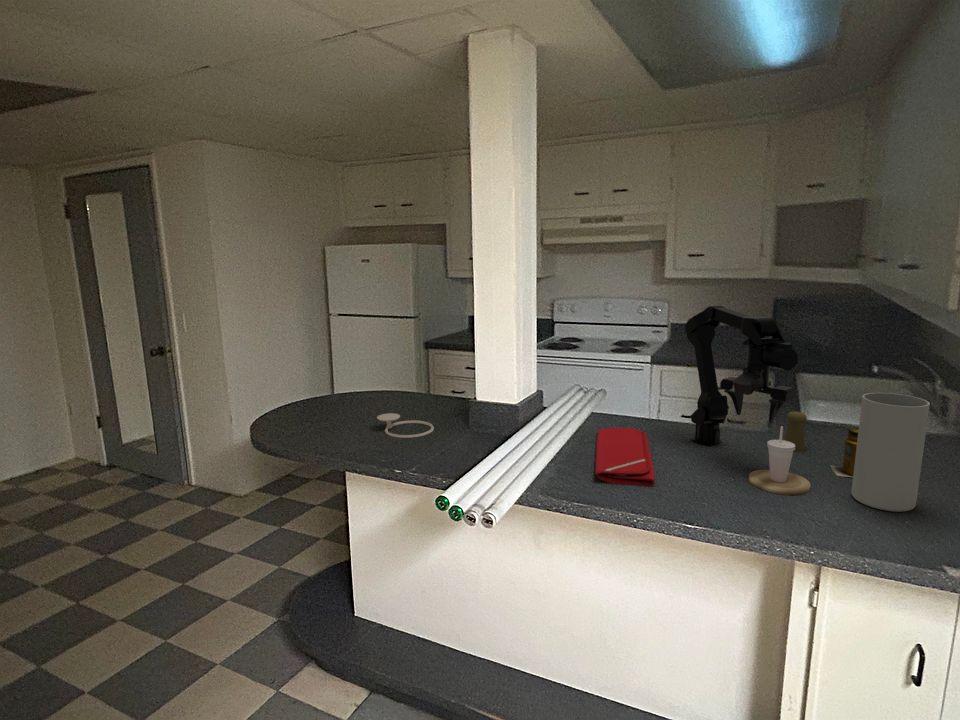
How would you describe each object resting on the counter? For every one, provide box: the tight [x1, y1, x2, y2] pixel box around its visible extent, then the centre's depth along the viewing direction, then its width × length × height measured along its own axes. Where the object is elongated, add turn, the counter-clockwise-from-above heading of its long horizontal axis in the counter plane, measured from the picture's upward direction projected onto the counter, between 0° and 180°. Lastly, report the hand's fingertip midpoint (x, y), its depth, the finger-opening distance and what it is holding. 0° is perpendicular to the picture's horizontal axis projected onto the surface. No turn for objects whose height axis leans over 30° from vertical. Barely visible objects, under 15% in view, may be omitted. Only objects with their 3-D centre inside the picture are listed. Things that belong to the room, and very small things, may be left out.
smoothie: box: [766, 425, 795, 482], centre depth 144 cm, size 6×6×14 cm
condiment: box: [829, 427, 859, 478], centre depth 150 cm, size 7×8×12 cm
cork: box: [783, 410, 808, 452], centre depth 170 cm, size 6×6×11 cm
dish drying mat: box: [594, 427, 655, 487], centre depth 166 cm, size 16×41×4 cm, turn 167°
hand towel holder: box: [376, 412, 435, 439], centre depth 195 cm, size 17×4×20 cm
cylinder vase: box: [851, 392, 931, 513], centre depth 132 cm, size 12×12×25 cm
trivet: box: [748, 468, 811, 496], centre depth 145 cm, size 14×14×1 cm
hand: (754, 418), depth 157 cm, fingers open, 9 cm apart
